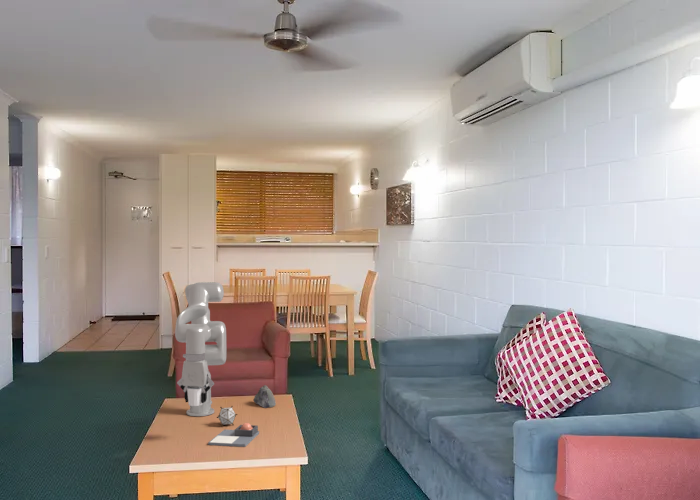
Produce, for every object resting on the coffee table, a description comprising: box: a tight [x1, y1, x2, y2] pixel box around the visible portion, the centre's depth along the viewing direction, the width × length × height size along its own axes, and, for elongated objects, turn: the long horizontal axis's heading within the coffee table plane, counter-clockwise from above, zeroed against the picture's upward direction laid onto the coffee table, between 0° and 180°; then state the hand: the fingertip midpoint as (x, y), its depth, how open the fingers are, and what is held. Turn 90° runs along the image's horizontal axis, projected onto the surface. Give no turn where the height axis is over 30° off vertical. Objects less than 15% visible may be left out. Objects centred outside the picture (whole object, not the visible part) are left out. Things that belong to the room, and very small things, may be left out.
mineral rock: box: [253, 384, 277, 409], centre depth 316 cm, size 13×11×10 cm
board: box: [207, 424, 260, 448], centre depth 260 cm, size 18×15×4 cm
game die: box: [216, 405, 238, 427], centre depth 280 cm, size 9×8×10 cm
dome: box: [240, 422, 253, 430], centre depth 264 cm, size 5×5×4 cm
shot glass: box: [187, 386, 203, 407], centre depth 262 cm, size 7×7×7 cm
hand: (195, 401), depth 262 cm, fingers closed on shot glass, 6 cm apart
